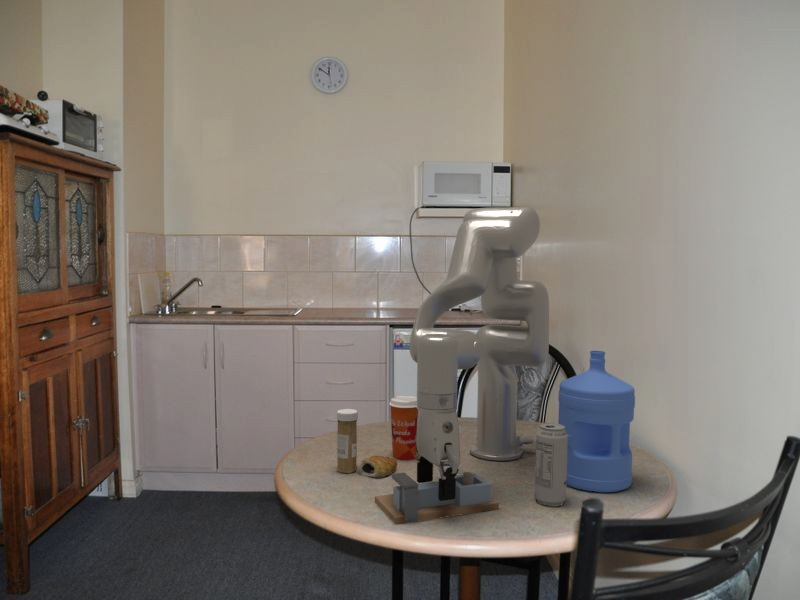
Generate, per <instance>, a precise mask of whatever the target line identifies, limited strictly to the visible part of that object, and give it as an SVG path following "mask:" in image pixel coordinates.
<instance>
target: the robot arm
mask: <svg viewBox="0 0 800 600" xmlns="http://www.w3.org/2000/svg"><path fill="white" fill-rule="evenodd" d="M540 225H541V223H540V217H539V214H538V213H537V211H536V210H535V209H533V208H531V207H528V206H515V207H513V206H512V207H511V206H510V207H497V206H496V207H480V208H473V209H471V210H468V211H467V212H466V213H465V214H464V216H463V220H462V223H461V224H460V225H459V227H458V230H457V233H456V237H455V240H454V241H455V242H454V246H453V251H452V255H451V258H450V263H449V268H448V272H447V276H446V278H445V280H444V281H443V282H442V283H441V284H440V285H439V286H437V287H436V288H435V289H434V290H433V291H432V292H431V293H430V294H429V295H428V296H427V297H426V298H425V299H424V300H423V302H422V303H421V305H420V306H419V307H418V310H417V311H416V314H415V317H414V322H413V326H412V330H411V333H410V334H411V335H410V339H409V353H410V357H411V359H412V360H413V362H415V363H416V365H417V368H416V369H417V370H416V371H417V372H416V373H417V374H416V376H417V377H416V397H417V409H419V410H418V420H417V434H416V435H415V440H416V445H417V446H416V451H417V453H416V458H415V460H416V483H418V484H420V483H428V482H433V480H434V466H436V467H437V469H438V473H439V476H440V478H438V481H439V485H438V499H439V500H440V501H445V500H452V499H455V493H456V478H457V475H458V473H459V471H460V469H459V468H460V464H461V459H460V458H461V449H460V448H461V444H460V443H461V442H460V441H461V440H460V427H459V417H458V412H457V409H458V372H459V371H458V370H469V369H471V368H474V367H475V366H477V403H476V405H477V406H476V407H477V410H476V413H477V414H476V443H473V444H472V445H471V446H470V448H469V452H470V454H471V455H472V456H474V457H476V458H479V459H482V460H486V461H487V460H488V461H496V462H497V461H498V462H501V461H502V462H504V461H514V460H518V459H520V458H521V457H522V456H523V450H522V448H521V447H523V445H533V444H534V438H533V436H532V435H529V436H527V435H526V436H523V435H522V434H521V435H519V434H517V419H518V418H517V413H518V412H517V411H518V409H517V408H518V381H517V378H516V376H515V374H514V372H513V371H512V370H511V368H510V367H509V366H516V367H517V366H518V367H519V366H520V367H529V368H537V367H541V366H544V365H545V363H546V362H547V359H548V356H549V349H550V347H549V346H550V298H549V293H548V290H547V288H546V286H545V285H544V284H543V283H542V282H541V281H537V280H521V279H520V280H519V279H518V275H517V273H518V271H517V269H518V268H517V263H518V262H517V261H518V260H517V258H519V257H521V256H523V255H524V254H525V253H526V252H527V251H528V250H529V249H530V248H531V247H532V246H533V245H534V244H535V243H536V241H537V239H538V237H539V233H540V227H541V226H540ZM479 297H480V305H481V306H480V307H481V310H482V313H483V315H484V316H485V317H486V318H489V319H493V320H503V321H519V322H525V323H526V325H527V326H526V325H514V324H513V325H512V324H499V323H498V324H497V323H494V324H486V325H483V326H481V327H480V328H479V329H478V330H477V332H476V333H475V332H473V331H470V330H463V329H461V330H460V329H448V328H435V327H434V326H435V324H436V322H437V321H438V319H439V318H440V317H441V316H442V315H444V314H445V313H446V312H447V311H449V310H452V308H456V307H457V306H459V305H460V306H461V305H462V304H465V303H467V302H469V301H472V300H475V299H477V298H479ZM444 467H447V468H446V470H445V468H444Z"/></svg>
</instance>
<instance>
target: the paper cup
mask: <svg viewBox="0 0 800 600" xmlns="http://www.w3.org/2000/svg"><path fill="white" fill-rule="evenodd" d="M388 404H389V405H390V423H391V425H390V426H391V427H390V428H391V447H392V458H393V459H394V460H398V459H400V460H399V461H412V460H416V456H417V451H416V446H417V445H416V440H415V435H416V434H417V420H418V410H419V409H417V396H412V395H411V396H409V395H398V396H394V397H392V398H391V399H390V402H389V403H388ZM411 459H412V460H411Z"/></svg>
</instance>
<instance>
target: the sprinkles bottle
mask: <svg viewBox="0 0 800 600" xmlns="http://www.w3.org/2000/svg"><path fill="white" fill-rule="evenodd" d="M358 416H359V415H358V410H356V409H354V408H353V409H352V408H343V409H339V410H337V412H336V421H337V433H336V436H337V437H336V439H337V441H336V457H337V463H336V465H337V466H336V471H337V472H339V473H343V474H351V473H354V472H356V471H358V466H357V456H358V451H357V449H358V448H357V446H358V445H357V444H358V440H357V439H358V438H357V437H358V434H357V433H358V432H357V431H358V429H357V424H358V422H357V421H358Z"/></svg>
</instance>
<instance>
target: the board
mask: <svg viewBox="0 0 800 600" xmlns="http://www.w3.org/2000/svg"><path fill="white" fill-rule="evenodd" d="M462 475H463V486H464V485H471V484H473V482H474V474H473V472H470V471H469V472H467V471H466V472H463V473H462ZM374 503H375V505H376V506H377V507H378V508H379V509H380V510H381V511H382V512H383V513H384V514H385V515H386V516H387V517H388V518H389V519H390V520H391V522H392V523H394V524H395V525H400V524H406V523H405V516H404V515H403V514H402V511H398V510H397V509H396V508H395V507H394V506H393V493H389V494H383V495H374ZM496 510H500V502H499V501H497V500H496V499H494V498H493V497H491V502H490V503H483V504H476V505H469V506H462V507H459V506H458V505H457V504H456V503H454V504H447V505H440V506H433V507H426V508H419V509H418V521H417V522H420V521H427V520H426V519H429V520H434V518H436V519H441V518H440V517H442V518H447V517H446V516H449V517H454V516H453V515H456V516H461V515H460V514H463V515H467V514H468V513H469V514H476V513H482V511H483V512H487V511H488V512H489V511H496ZM475 512H476V513H475Z"/></svg>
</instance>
